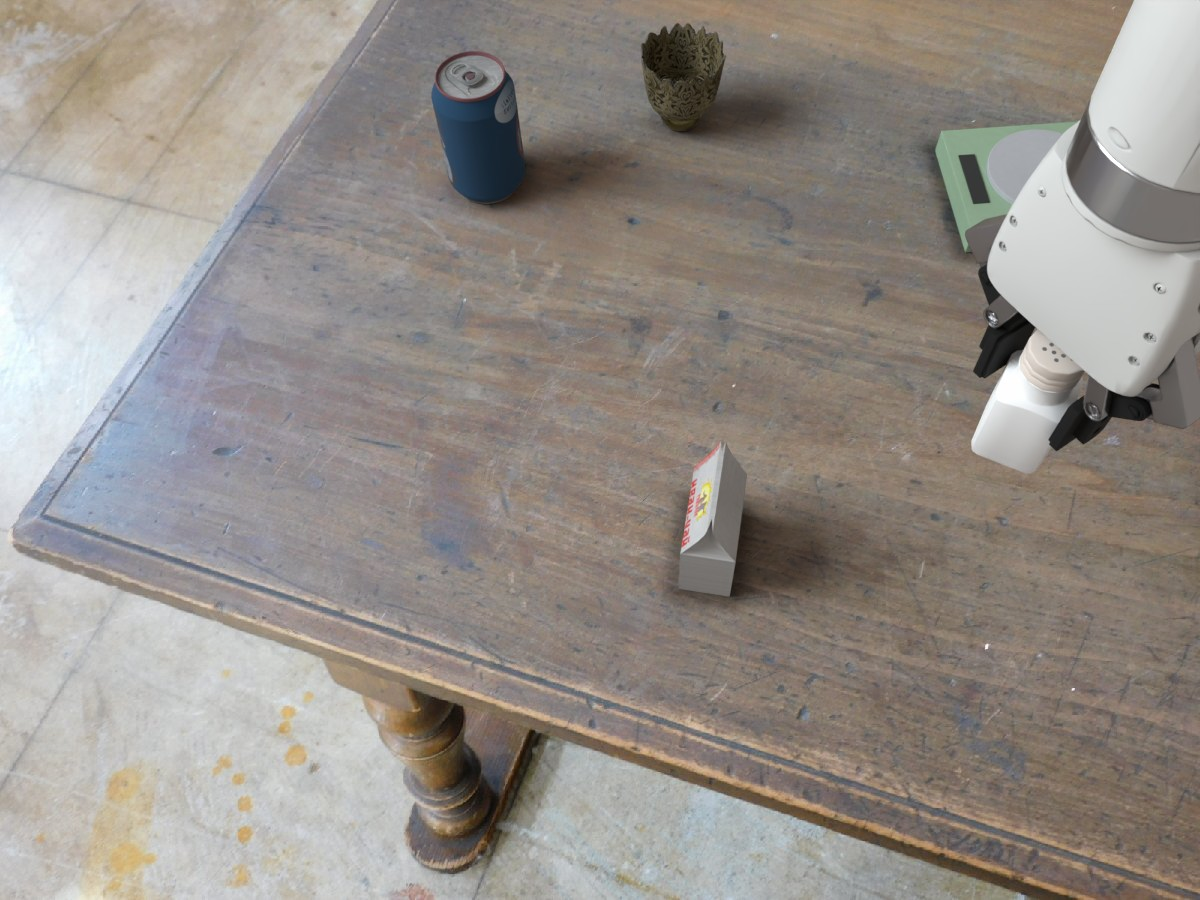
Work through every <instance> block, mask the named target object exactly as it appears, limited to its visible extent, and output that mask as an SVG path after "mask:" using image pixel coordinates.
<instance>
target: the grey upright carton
mask: <svg viewBox="0 0 1200 900" xmlns="http://www.w3.org/2000/svg"><path fill="white" fill-rule="evenodd" d="M747 479H748V473H747V472H746V471H745V469H744V468H743V467H742V465H741V464H740V463H739V461H738V460H737V459H736V457H735V456H734V454H733V453H732V452H731V449H730V448H729V446H728V442H727V441H725V443H724V445H723V447H722V440H720V441H719V442H718V444H717V446H715V448H714V449H713V450H712V451H711V452H710V453H709V454H707V456H706V457H704V458H703V459H702V460H701V461H700V462H698V463H697V464H696V465H695V466H694V468H693V473H692V479H691V486H690V492H689V499H688V504H687V511H686V517H685V523H684V529H683V535H682V540H681V541H682V542H681V548H680V552H679V553H680V554H679V567H678V568H679V569H678V585H677V589H678V590H684V591H691V592H697V593H703V594H708V595H709V594H710V595H716V596H722V597H731V590H732V585H733V581H734V580H733V579H734V573H735V569H736V568H735V567H736V561H737V555H738V554H737V553H738V547H739V539H740V530H741V525H742V516H743V508H744V503H745V502H744V500H745V493H746V488H747V487H746V486H747Z"/></svg>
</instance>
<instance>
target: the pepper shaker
mask: <svg viewBox="0 0 1200 900" xmlns="http://www.w3.org/2000/svg"><path fill="white" fill-rule="evenodd" d="M1085 373H1086V372H1085V371H1084V370H1083V369H1082V368H1081V367H1080V366H1078V365H1077V364H1076V363H1075V362H1074V361H1073V360H1071V359H1070V358H1069V357H1068V356H1067V355H1066V354H1065V353H1064V352H1063V351H1061V350H1060V349H1059V348H1058V347H1057V346H1056V345H1055V344H1054V343H1052V342H1051V341H1050V340H1049V339H1048V338H1047V337H1046V336H1045V335H1044V334H1042V333H1041V332H1040V331H1039V330H1038V329H1037V328H1036V330H1034V331H1033V333H1032V335H1031V337H1030V338H1029V340H1028V342H1027V344H1026V346H1025V348H1024V350H1018V351H1016V352H1014V353H1013V354H1011V356H1010V358H1009V360H1008V362H1007V364H1006V365H1005V366H1004V367H1003V370H1002V372H1001V375H1000V376H999V378H998V380H997V382H996V385H995V386H994V388H993V390H992V393H991V394H990V397H989V398H988V401H987V403H986V405H985V406H984V409H983V412H982V414H981V417H980V419H979V422H978V424H977V426H976V429H975V431H974V434H973V436H972V439H971V441H970V444H971V451H972V452H973V453H974V454H976V455H977V456H979V457H982V458H985V459H987V460H990V461H992V462H995V463H997V464H999V465H1002V466H1004V467H1007V468H1010V469H1012V470H1015V471H1018V472H1020V473H1023V474H1029V475H1031V474H1034V473H1035V472H1036V471H1038V470H1039V469H1040V467H1041V465H1042V464H1043V462H1044V461H1045V459H1046V457H1047V456H1048V455H1049V452H1050V451H1051V450H1052V449H1053V448H1052V447H1051V446H1050V445H1049V443H1050V441H1049V440H1048V439H1049V438H1050V436H1051V434H1052V433H1053V431H1054V430H1055V428H1056V426H1057V425H1058V423H1059V422H1060V420H1061V418H1062V417H1063V415H1064V413H1065V412H1066V410H1067V409H1068V407H1069V406H1070V405H1071V404H1072V403H1073V402H1075V401H1076V400H1078V399H1079V395H1080V393H1081V389H1082V387H1083V383H1084V380H1085V379H1084V377H1083V376H1084V374H1085Z"/></svg>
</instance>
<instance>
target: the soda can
mask: <svg viewBox="0 0 1200 900" xmlns="http://www.w3.org/2000/svg"><path fill="white" fill-rule="evenodd" d="M430 96H431V103H432V107H433V111H434V116H435V122H436V126H437V131H438V135H439V141H440V144H441V149H442V153H443V154H442V155H443V159H444V163H445V167H446V171H447V176H448V180H449V183H450V185H451V186H452V188H453V189H454V190H455V191H456V192H457V193H459V195H461V196H462V197H464V198H465V199H467V200H469V201H471V202H473V203H476V204H482V205H483V204H484V205H491V204H495V203H496V204H497V203H500V202H502V201H504V200H506V199H508V198H509V197H511V196H512V195H513V194H514V193H515V192H516V190H517V189H518V188H519V186H520V185H521V183H522V181H523V179H524V177H525V173H526V161H525V154H524V147H523V145H524V144H523V138H522V132H521V124H520V123H521V122H520V116H519V108H518V101H517V95H516V88H515V83H514V80H513V79H512V77H511V75H510V74H509V73H508V72H507V70H506V69H505V66H504V64H503V63H502V61H501V60H500V59H499V58H498V57H497V56H495V55H493V54H491V53H489V52H484V51H478V50H469V51H463V52H458V53H456V54H452V55H450V56H449V57H447V58H446V59H445V60H443V61H442V62H441V63H440V65H439V66H438V67H437V69H436V71H435V74H434V83H433V86H432V89H431V95H430Z"/></svg>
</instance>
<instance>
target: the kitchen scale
mask: <svg viewBox="0 0 1200 900" xmlns="http://www.w3.org/2000/svg"><path fill="white" fill-rule="evenodd" d="M1079 121H1080V120H1077V121H1064V122H1050V123H1048V122H1047V123H1036V124H1035V123H1033V124H1021V125H1007V126H992V127H976V128H965V129H963V128H961V129H949V130H948V129H947V130H941V131H940V134H939V136H938V140H937V143H936V146H935V149H934V152H935V155H936V158H937V162H938V167H939V169H940V172H941V176H942V178H943V179H942V180H943V183H944V186H945V189H946V192H947V197H948V199H949V203H950V206H951V210H952V213H953V217H954V219H955V224H956V226H957V231H958V233H959V237H960V240H961V243H962V247H963V250H964V253H972V252H971V249H970V247H969V245H968V242H967V240H966V237H965V232H966V230H968V229H969V228H971V227H973V226H974V225H976V224H978V223H979V222H981V221H983V220H984V219H987V218H992V217H996V216H1001V215H1005V214H1008V212H1009V210H1010V208H1011V206H1012V205H1013V203H1014V202H1015V200H1016V198H1017V196H1018V195H1019V193H1020V191H1021V190H1022V188H1023V187H1024V185H1025V184H1026V182H1027V181H1028V179H1029V178H1030V176H1031V175H1032V174H1033V172H1034V171H1035V169H1036V168H1037V166H1038V165H1039V164H1040V162H1041V161H1042V160H1043V158H1044V157H1045V156H1046V154H1047V153H1048V152H1049V150H1050V149H1051V148H1052V147H1053V145H1054V144H1055V143H1056V142H1057V141H1058V139H1059V138H1060V137H1061V136H1062V135H1063V133H1064V132H1065V131H1067V130H1068V129H1069V128H1070V127H1072V126H1073V125H1075V124H1076V123H1077V122H1079Z"/></svg>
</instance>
